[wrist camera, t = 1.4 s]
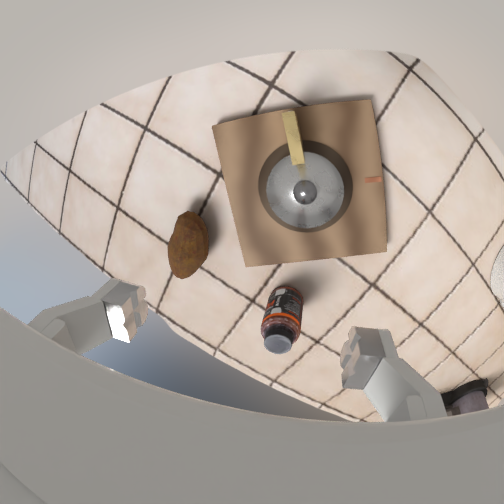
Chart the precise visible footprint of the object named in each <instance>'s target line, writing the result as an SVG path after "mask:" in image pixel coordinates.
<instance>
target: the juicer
mask: <svg viewBox="0 0 504 504" xmlns="http://www.w3.org/2000/svg"><path fill="white" fill-rule="evenodd" d="M487 386H488V379H487V378H486V379H483V380H474V381H471V382H468V383H466V384H464V385H462V386H460V387H458V388H457V389H455V390H453V391H450V392H447V393H443V394H441V397H442V400H443V403H444V407H445V410H446V413H447V416H455V415H461V414H466V413H471V412H476V411H481V410H485V409H489V407H488V404H487V401H486V398H485V397H486V396H487V389H486V388H487Z"/></svg>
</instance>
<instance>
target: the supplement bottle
mask: <svg viewBox="0 0 504 504" xmlns="http://www.w3.org/2000/svg"><path fill="white" fill-rule="evenodd" d="M302 310H303V298H302V296H301V294H300V293H299V292H298V291H297V290H296V289H294V288H291V287H279V288H277V289H275V290H274V291H273V292H272V293H271V295H270V297H269V299H268V303H267V307H266V311H265V314H264V318H263V321H262V325H261V334H262V336H263V338H264V346H265V348H266V349H267V350H268V351H270V352H272V353H275V354H283V353H286V352H288V351H289V350H290V349H291V347H292V344H293V343H294V342H296V341H297V339H298V338H299V335H300V330H301V320H302Z"/></svg>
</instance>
